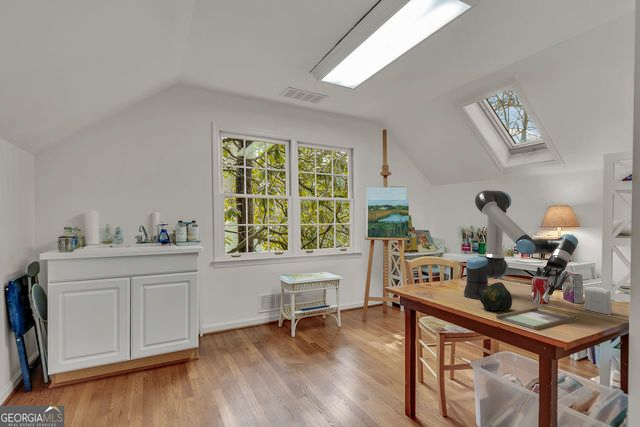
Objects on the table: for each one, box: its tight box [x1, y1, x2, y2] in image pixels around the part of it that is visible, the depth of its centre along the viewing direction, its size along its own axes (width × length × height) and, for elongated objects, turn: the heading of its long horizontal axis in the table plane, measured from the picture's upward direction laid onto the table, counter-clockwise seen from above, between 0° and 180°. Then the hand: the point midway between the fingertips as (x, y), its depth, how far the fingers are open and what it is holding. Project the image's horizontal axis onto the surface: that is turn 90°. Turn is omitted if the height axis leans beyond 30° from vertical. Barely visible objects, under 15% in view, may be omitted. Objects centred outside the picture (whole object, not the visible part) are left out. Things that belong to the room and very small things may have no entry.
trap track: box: [495, 306, 577, 331], centre depth 147 cm, size 18×31×2 cm, turn 116°
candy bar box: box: [562, 270, 584, 305], centre depth 179 cm, size 11×5×16 cm, turn 168°
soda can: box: [530, 275, 551, 307], centre depth 151 cm, size 7×7×13 cm
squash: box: [479, 281, 513, 312], centre depth 164 cm, size 14×15×15 cm
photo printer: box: [584, 286, 612, 316], centre depth 158 cm, size 10×4×12 cm, turn 25°
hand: (538, 298), depth 148 cm, fingers closed on soda can, 4 cm apart
